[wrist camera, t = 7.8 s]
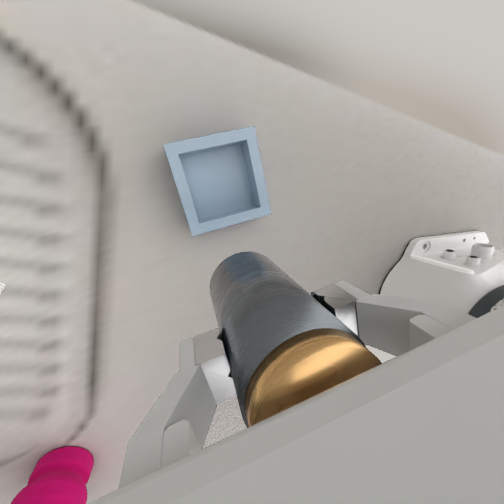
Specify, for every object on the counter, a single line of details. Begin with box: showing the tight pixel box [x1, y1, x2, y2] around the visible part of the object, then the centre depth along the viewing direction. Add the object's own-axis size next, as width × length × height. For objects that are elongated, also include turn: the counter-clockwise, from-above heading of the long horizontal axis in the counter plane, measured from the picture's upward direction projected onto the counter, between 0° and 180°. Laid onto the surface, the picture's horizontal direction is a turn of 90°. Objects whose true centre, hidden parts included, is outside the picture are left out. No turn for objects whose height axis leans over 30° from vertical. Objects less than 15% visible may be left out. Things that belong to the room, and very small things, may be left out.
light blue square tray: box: [163, 126, 272, 236], centre depth 24 cm, size 8×8×4 cm
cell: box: [210, 252, 382, 427], centre depth 9 cm, size 4×4×9 cm
